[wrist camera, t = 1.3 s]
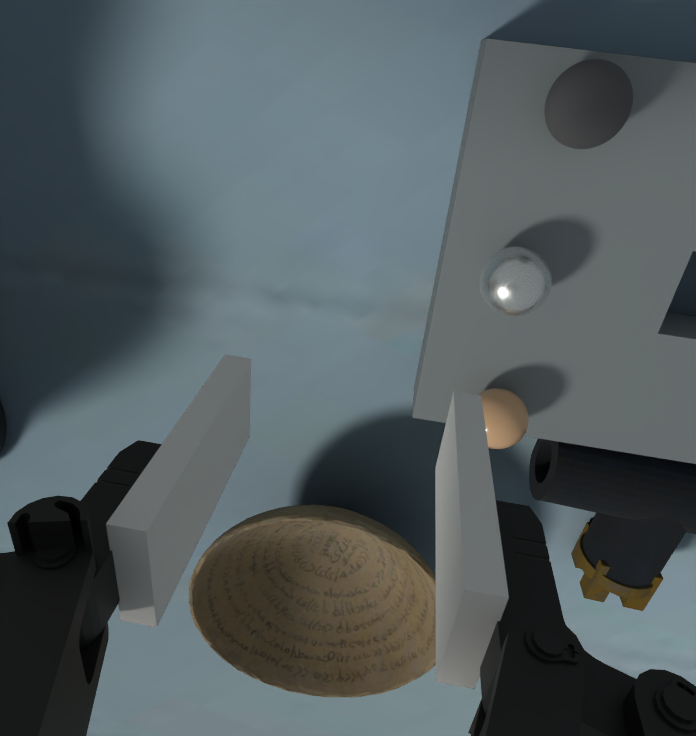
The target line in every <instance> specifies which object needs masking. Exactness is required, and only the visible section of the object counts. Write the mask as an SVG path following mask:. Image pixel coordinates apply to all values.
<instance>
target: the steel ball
mask: <svg viewBox="0 0 696 736" xmlns="http://www.w3.org/2000/svg"><path fill="white" fill-rule="evenodd" d="M551 285H552V275H551V271H550V268H549V265H548V264H547V262H546V261H545V259H544V258H543V257H542V256H541V255H540V254H539V253H537V252H536V251H534V250H532V249H529V248H526V247H519V246H516V247H508V248H505V249H502V250H500V251H498V252H497V253H495V254H494V255H492V256H491V257H490V258H489V259H488V261H487V262H486V263H485V265H484V267H483V269H482V271H481V274H480V280H479V286H480V292H481V295H482V297H483V299H484V301H485V302H486V304H487V305H488V306H489V307H490V308H491V309H492V310H494V311H495V312H497V313H499V314H502V315H504V316H510V317H518V316H523V315H527V314H529V313H531V312H533V311H535V310H536V309H538V308H539V307H540V306H541V305H542V304H543V303H544V302H545V300H546V299H547V297H548V295H549V293H550V290H551Z"/></svg>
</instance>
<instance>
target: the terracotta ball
mask: <svg viewBox="0 0 696 736" xmlns="http://www.w3.org/2000/svg"><path fill="white" fill-rule="evenodd" d="M478 395H480V396H481V398H482V405H483V412H484V420H485V427H486V434H487V442H488V448H492V449H504V448H508V447H511V446H513V445H515V444H516V443H517V442H519V441H520V440H521V439H522V437H523V436H524V434H525V433H526V430H527V428H528V422H529V417H528V411H527V408H526V406H525V404H524V403H523V401H522V400H521V399H520V398H519V397H518V396H517V395H516V394H514V393H513V392H511V391H508V390H506V389H501V388H492V389H487V390H484V391H482V392H481V393H479V394H478Z"/></svg>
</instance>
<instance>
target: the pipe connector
mask: <svg viewBox="0 0 696 736" xmlns="http://www.w3.org/2000/svg"><path fill="white" fill-rule="evenodd" d="M529 484H530V490H531V493H532V496H533V497H534V498H535V499H536V500H541V501H546V502H550V503H555V504H560V505H564V506H569V507H574V508H578V509H583V510H588V511H592V512H596V514H595V516H594V518H593V520H592V522H591V523H589V522H587V524H586V526H585V528H584V529H583V531H582V533H581V535H580V537H579V539H578V541H577V543H576V545H575V547H574V549H573V551H572V553H571V554H572V558H573V561H574V564H575V567H576V568H580V569H582V570H583V571H584V575H583V577H582V579H581V581H580V585H581V589H582V592H583V596H584V598H587V599H591V600H596V601H600V602H604V601H605V599H606V597H607V596H608V594H609V592H611V593H613V594H615V595H618V596H620V599H621V602H622V605H623V607H627V608H632V609H636V610H641V611H643V610H644V608H645V607H646V605H647V604H648V602H649V601H650V599H651V597H652V596H653V594H654V593H655V591H656V590H657V588H658V586H659V585H660V583H661V582H662V580H663V577H662V575H661V573H660V572H661V571H662V569H663V568H664V566H665V564H666V563H667V561H668V560H669V558H670V557H671V555H672V553H673V552H674V550H675V549H676V547H677V545H678V544H679V542H680V541H681V539H682V538H683V536H684V534H685V533H686V532H690V533H694V534H696V464H693V463H687V462H681V461H674V460H668V459H662V458H656V457H650V456H644V455H638V454H632V453H625V452H619V451H613V450H607V449H601V448H595V447H589V446H583V445H577V444H570V443H564V442H558V441H552V440H546V439H540V438H538V440H537V442H536V444H535V447H534V449H533V452H532V455H531V461H530V470H529Z"/></svg>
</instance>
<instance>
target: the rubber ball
mask: <svg viewBox="0 0 696 736" xmlns="http://www.w3.org/2000/svg"><path fill="white" fill-rule="evenodd" d="M632 105H633V88H632V84H631V82H630V79H629V77H628V76H627V74H626V73H625V72H624V70H623V69H622V68H620V67H619V66H618V65H616V64H615V63H613V62H610V61H607V60H603V59H589V60H585V61H582V62H579V63H576V64H575V65H573V66H571V67H569V68H568V69H566V70H565V71H564V72H563V73H562V74H561V75H560V76H559V77H558V78H557V79H556V80H555V82H554V83H553V85H552V87H551V88H550V90H549V93H548V95H547V98H546V102H545V109H544V114H545V121H546V125H547V128H548V130H549V132H550V133H551V134H552V136H553V137H554V138H555V139H556V140H557V141H558V142H559V143H561V144H563V145H565V146H567V147H570V148H574V149H589V148H594V147H597V146H599V145H602V144H604V143H605V142H607V141H609V140H610V139H611V138H613V137H614V136H615V135H616V134H617V133H618V132H619V131H620V130H621V129H622V127H623V126H624V124H625V123H626V121H627V119H628V117H629V115H630V112H631V109H632Z"/></svg>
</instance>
